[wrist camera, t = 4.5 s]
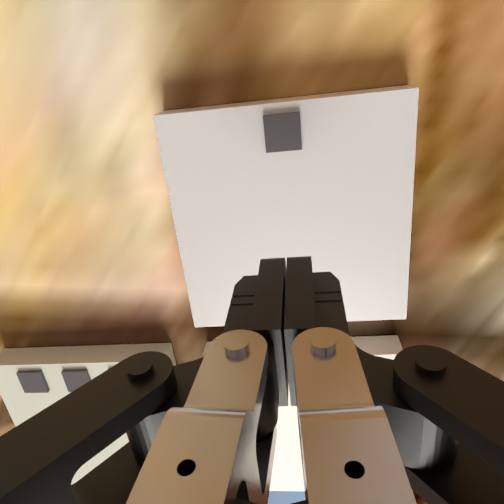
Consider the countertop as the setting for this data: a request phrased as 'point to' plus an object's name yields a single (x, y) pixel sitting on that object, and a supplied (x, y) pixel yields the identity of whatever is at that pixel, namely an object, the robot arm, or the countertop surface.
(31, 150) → the countertop surface
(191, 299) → the tile one
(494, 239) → the countertop surface
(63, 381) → the tile three
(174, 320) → the countertop surface
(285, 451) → the tile two
